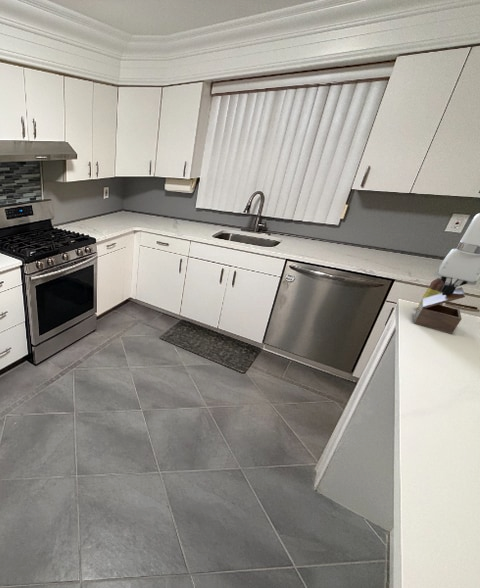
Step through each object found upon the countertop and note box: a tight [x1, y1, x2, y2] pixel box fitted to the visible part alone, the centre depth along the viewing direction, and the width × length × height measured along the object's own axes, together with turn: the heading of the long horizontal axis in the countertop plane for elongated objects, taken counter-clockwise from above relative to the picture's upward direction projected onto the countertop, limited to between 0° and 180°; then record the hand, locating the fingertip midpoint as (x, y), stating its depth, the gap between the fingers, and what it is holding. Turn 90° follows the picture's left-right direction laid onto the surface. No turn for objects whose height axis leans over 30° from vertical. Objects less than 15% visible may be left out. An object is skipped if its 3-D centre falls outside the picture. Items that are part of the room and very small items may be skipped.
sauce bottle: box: [416, 277, 454, 311], centre depth 127 cm, size 7×6×20 cm
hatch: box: [422, 286, 466, 308], centre depth 118 cm, size 11×10×1 cm
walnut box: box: [413, 301, 462, 335], centre depth 121 cm, size 10×10×7 cm
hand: (445, 294), depth 118 cm, fingers closed
